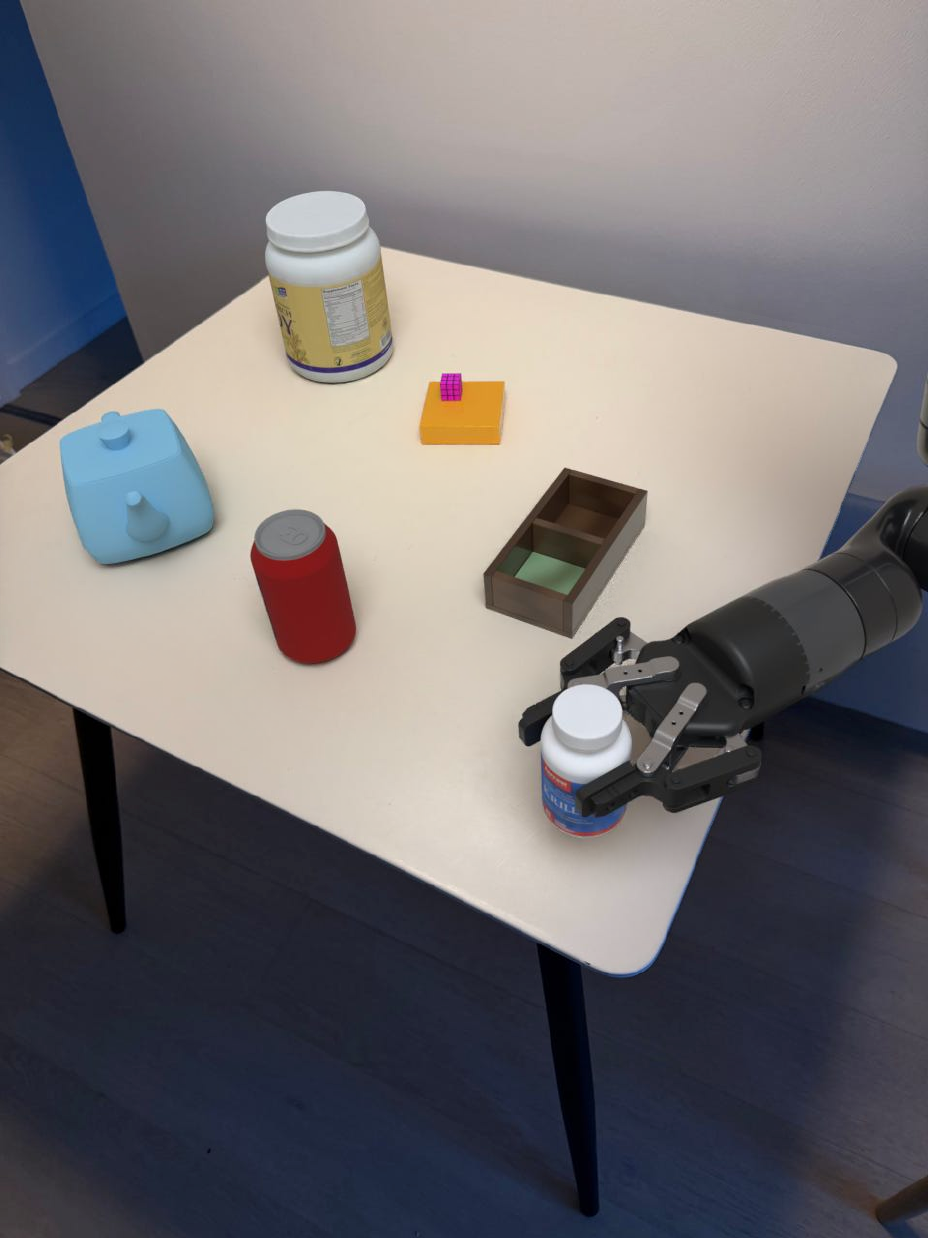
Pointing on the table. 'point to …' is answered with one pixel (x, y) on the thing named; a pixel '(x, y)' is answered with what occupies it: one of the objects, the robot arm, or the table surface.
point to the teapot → (134, 486)
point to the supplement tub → (328, 286)
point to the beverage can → (303, 586)
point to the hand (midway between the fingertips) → (550, 768)
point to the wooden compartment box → (565, 551)
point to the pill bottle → (581, 756)
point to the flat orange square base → (463, 411)
